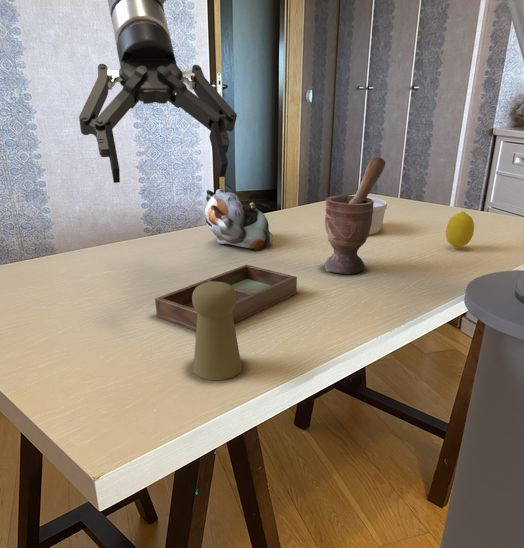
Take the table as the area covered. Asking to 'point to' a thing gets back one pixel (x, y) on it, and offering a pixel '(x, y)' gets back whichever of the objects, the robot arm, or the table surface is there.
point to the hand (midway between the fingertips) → (171, 173)
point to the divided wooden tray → (248, 287)
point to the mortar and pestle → (351, 222)
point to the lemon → (460, 230)
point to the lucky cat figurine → (236, 221)
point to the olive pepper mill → (215, 332)
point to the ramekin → (377, 214)
